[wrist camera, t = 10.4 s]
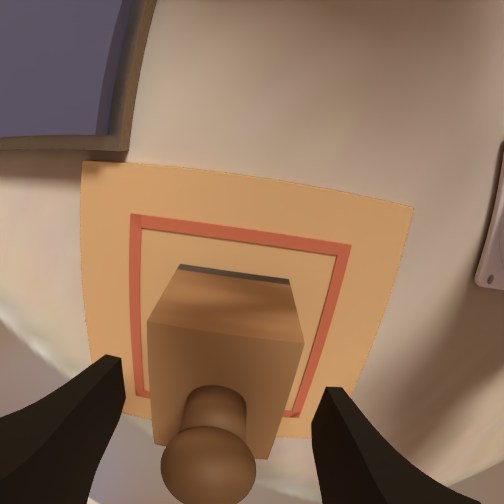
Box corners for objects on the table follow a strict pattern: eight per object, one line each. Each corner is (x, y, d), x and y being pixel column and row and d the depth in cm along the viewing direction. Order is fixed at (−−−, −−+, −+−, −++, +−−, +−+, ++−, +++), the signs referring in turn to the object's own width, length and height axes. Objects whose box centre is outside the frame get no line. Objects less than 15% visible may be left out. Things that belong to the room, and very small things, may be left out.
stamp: (289, 279, 13) (329, 453, 5) (264, 386, 15) (270, 542, 7) (180, 263, 13) (93, 420, 5) (175, 374, 15) (132, 523, 7)
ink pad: (177, -64, 8) (168, -86, 6) (128, 150, 12) (107, 152, 10) (29, -32, 8) (11, -43, 6) (-14, 149, 11) (-39, 153, 9)
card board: (409, 206, 12) (414, 209, 12) (329, 433, 17) (330, 439, 16) (86, 160, 12) (81, 161, 11) (103, 402, 16) (100, 407, 16)
